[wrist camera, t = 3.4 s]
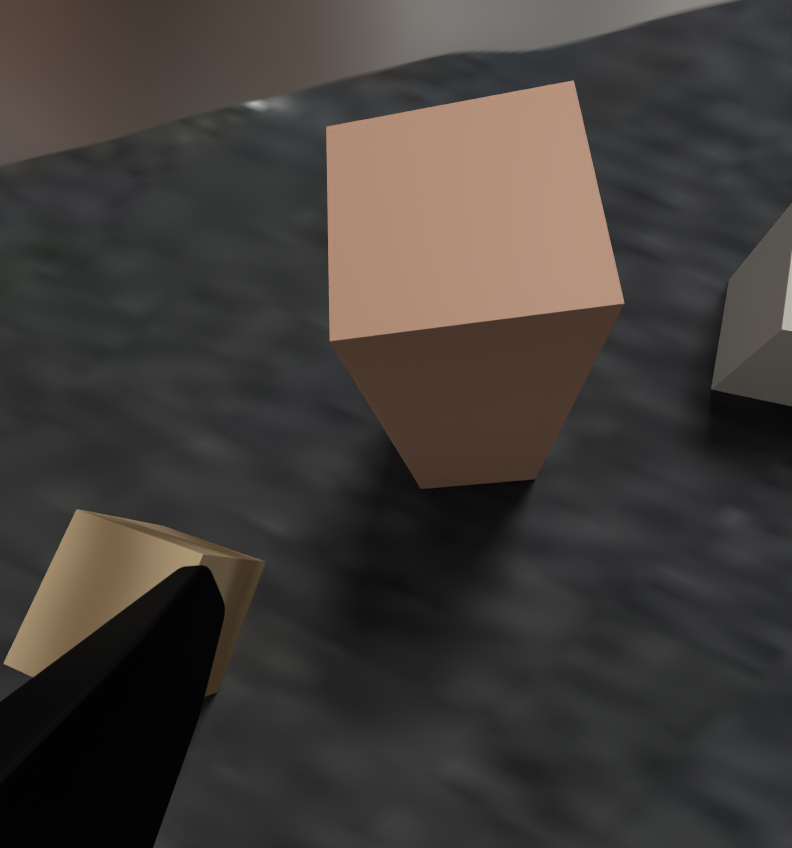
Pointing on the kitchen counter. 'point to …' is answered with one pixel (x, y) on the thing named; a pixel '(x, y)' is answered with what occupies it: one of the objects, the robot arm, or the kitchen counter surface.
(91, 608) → the honey oak cube
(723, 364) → the grey plastic cube
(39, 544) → the kitchen counter surface
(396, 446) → the terracotta block
